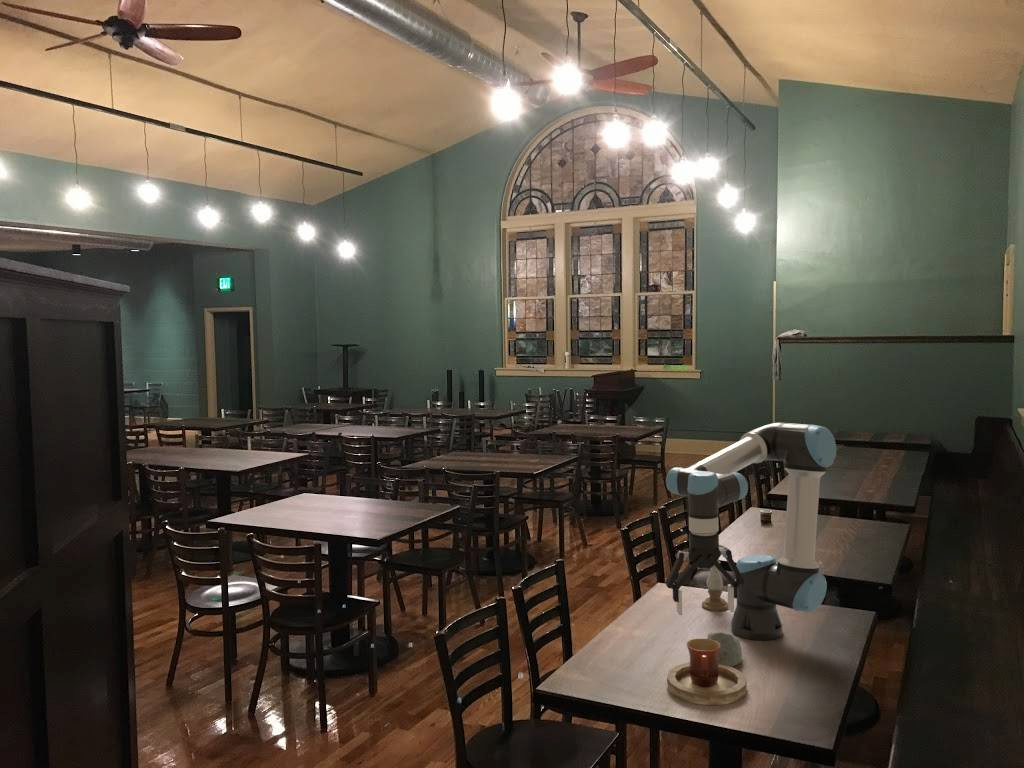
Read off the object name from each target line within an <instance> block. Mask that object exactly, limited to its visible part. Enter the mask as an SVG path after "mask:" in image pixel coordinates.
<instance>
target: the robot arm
mask: <svg viewBox="0 0 1024 768" xmlns="http://www.w3.org/2000/svg"><path fill="white" fill-rule="evenodd" d="M836 456H837V444H836V440H835V437H834V435H833V434H832V432H831V431H830V429H828V427H825V426H822V425H816V424H805V423H792V422H791V423H789V422H783V421H782V422H780V421H779V422H772V423H768V424H765V425H762V426H758V427H757V428H754V429H752V430H750V431H748V432H746V433H744V434H743V435H742V436H741V437H740V439H739V440H738V441H736V442H735V443H733V444H730V445H729V446H726V447H724V448H722V449H721V450H719V451H717V452H715V453H714V454H711V455H709V456H708V457H706V458H704V459H702V460H700V461H698V462H696V463H694V464H692V465H690V466H687V467H683V466H681V467H673V468H670V469H669V471H668V472H667V475H666V478H665V484H666V488H667V490H668V491H669V492H670V493H671V494H674V495H678V496H680V497H681V496H682V497H683V496H684V497H687V498H688V500H687V501H688V530H689V532H688V546H689V547H688V551H682V550H677V551H676V559H675V561H674V563H673V566H672V567H671V570H669V571H670V572H669V573H668V576H667V578H666V579H665V580H666V581H665V585H666V587H667V588H668V589H672V599H673V600H672V601H674V602H675V603H676V612H677V614H678V615H679V616H683V590H682V589H681V587H682V586H683V585H684V583H685V582H686V581H687V580H688V578H689V577H690V575H691V574H692V573H694V572H695V571H696V569H697V568H698V569H704V568H705V569H706V568H707V569H710V568H711V567H713V566H715V567H716V568H717V569H718V570H719V573H721V574H722V575H723V576H724V577H725V579H726V580H727V581H728V582H729V584H728V583H727V603H728V609H727V610H729V612H730V613H733V615H732V619H731V622H730V623H731V624H730V625H731V626H730V627H731V628H730V629H731V632H732V634H734V635H735V636H738V637H740V638H743V639H747V640H753V641H769V640H770V641H771V640H775V639H778V638H780V637H782V635H783V632H784V631H783V624H782V623H783V622H782V621H781V618H780V614H779V612H778V611H779V610H778V609H777V606H780V607H784V608H788V609H791V610H794V611H795V612H804V613H812V612H814V611H816V610H817V609H818V608H819V607H820V606H821V604H822V603H823V601H824V599H825V597H826V592H827V586H828V582H827V580H826V577H825V576H824V575H823V574H822V573H820V564H818V562H817V561H816V560H815V555H816V543H817V542H816V541H817V540H816V539H817V530H818V529H817V528H818V527H817V525H818V513H819V498H820V485H821V477H822V476H823V475H825V474H826V473H827V468H828V467H831V466H832V465H833V464H834V462H835V459H836ZM764 461H778V462H784V468H783V469H784V470H785V471H786V472H787V473H788V484H787V485H788V488H787V500H786V514H785V516H786V517H785V531H784V542H783V544H784V545H783V556H781V557H780V558H779V559H778V560H776V558H775V556H773V555H769V554H754V555H747V556H743V557H741V558H739V559H738V560H737V561H736V562H735V561H734V558H733V553H732V550H730V549H729V548H728V547H726V548H725V549H724V550H719V545H720V537H719V535H720V534H719V533H718V532H719V530H720V529H719V528H720V527H719V507H720V506H724V505H726V504H731V503H736V502H737V501H739V500H742V499H744V498H745V497H746V496H747V494H748V491H749V483H748V481H747V479H746V477H745V476H744V475H742V473H739V471H741V470H743V469H744V468H746V467H748V466H750V465H752V464H760V463H763V462H764ZM721 556H722V557H723V558H725V561H726V562H727V564H728V565H729V567H730V569H731V571H732V573H733V575H734V576H735V579H734V578H733V577H732V576H731V574H729V572H728V571H727V570H726V569H725V568H724V567H723V566H722V565H721V563H720V564H719V563H718V562H717V560H718V559H719V560H720V557H721ZM687 558H689V559H690V560H689V561H688V563H687V565H686V567H685V568H684V569H683V570H682V572H681V573H680V574H679V572H680V570H681V568H682V566H683V564H684V561H686V559H687ZM735 599H736V607H735Z"/></svg>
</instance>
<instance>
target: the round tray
mask: <svg viewBox="0 0 1024 768" xmlns="http://www.w3.org/2000/svg"><path fill="white" fill-rule="evenodd" d="M718 670H719V676H718V682H717V683H716V684H715V685H713V686H710V687H702V686H698V685H696V684H694V683H693V682H692V681H691V677H690V661H689V662H686V663H681V664H678V665H675V666H673V667H672V668H671V669H669V670H668V673H667V675H666V685H667V689H668V691H669V692H670V693H671V694H672V695H673V696H674V697H676V698H677V699H679V700H681V701H683V702H687V703H691V704H696V705H698V706H699V705H700V706H701V705H702V706H710V707H711V706H726V705H729V704H734V703H736V702H739V701H740V700H742V699H743V698H744V697H745V695H746V693H747V684H748V683H747V677H746V676H745V675H744V673H743V672H742V671H740V670H739V669H737V668H735V667H734V666H733V667H731V666H727V665H723V664H720V663H718Z"/></svg>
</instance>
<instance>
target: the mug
mask: <svg viewBox="0 0 1024 768" xmlns="http://www.w3.org/2000/svg"><path fill="white" fill-rule="evenodd" d="M686 648H687V650H688V653H689V662H690V677H691V681H692V682H693V683H694V684H696V685H698V686H702V687H710V686H713V685H715V684H716V683H717V682H718V676H719V670H718V655H719V651H720V648H721V645H720V643H719V642H717V641H715V640H712V639H707V638H704V637H703V638H702V637H701V638H700V637H698V638H693V639H689V640H688V641H687V642H686Z"/></svg>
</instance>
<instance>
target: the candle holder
mask: <svg viewBox="0 0 1024 768" xmlns="http://www.w3.org/2000/svg"><path fill="white" fill-rule="evenodd" d="M725 548H727V547H726V546H725V545H722V544H719V550H724V549H725ZM717 562H718V563H719V564H720V565H721V560H720V558H719V559H718V560H717ZM720 573H721V572H720V571H719V570H718V569H717V568H716V567H715V566H713V567H711V568H709V575H708V577H707V579H706V587H707V588H708V590H707V593H708V595H709V597H707V598H705V599H704V600H703V601H702V602H701V607H702V608H703V609H705V610H708V611H714V612H716V611H717V612H719V611H725V610H729V609H728V601H726V600H725V599H724V598H722V597H721V595H722V594H723V591H722V588H723V587H724V581H723V578H722V576H721V574H720Z"/></svg>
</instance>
